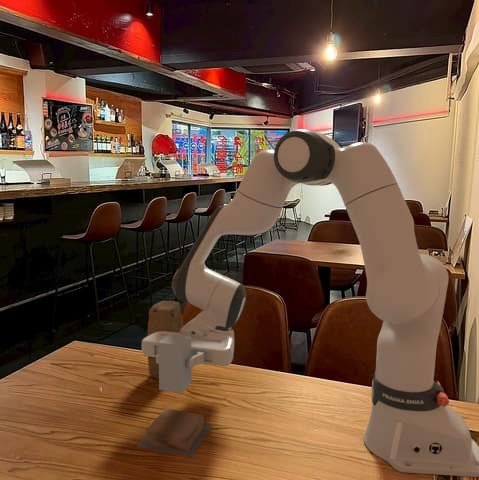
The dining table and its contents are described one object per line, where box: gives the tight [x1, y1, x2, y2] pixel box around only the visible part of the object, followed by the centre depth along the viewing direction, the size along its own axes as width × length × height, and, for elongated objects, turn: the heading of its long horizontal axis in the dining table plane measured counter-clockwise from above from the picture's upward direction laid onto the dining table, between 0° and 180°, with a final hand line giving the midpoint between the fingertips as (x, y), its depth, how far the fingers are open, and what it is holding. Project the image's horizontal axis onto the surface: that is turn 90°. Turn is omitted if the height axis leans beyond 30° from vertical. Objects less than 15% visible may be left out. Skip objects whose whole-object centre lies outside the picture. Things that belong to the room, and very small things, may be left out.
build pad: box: [136, 423, 213, 458], centre depth 99 cm, size 12×12×1 cm
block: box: [147, 300, 184, 380], centre depth 128 cm, size 11×8×20 cm
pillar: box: [158, 334, 192, 394], centre depth 96 cm, size 5×5×10 cm
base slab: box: [145, 408, 205, 451], centre depth 98 cm, size 9×9×3 cm
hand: (173, 362), depth 95 cm, fingers closed on pillar, 5 cm apart
